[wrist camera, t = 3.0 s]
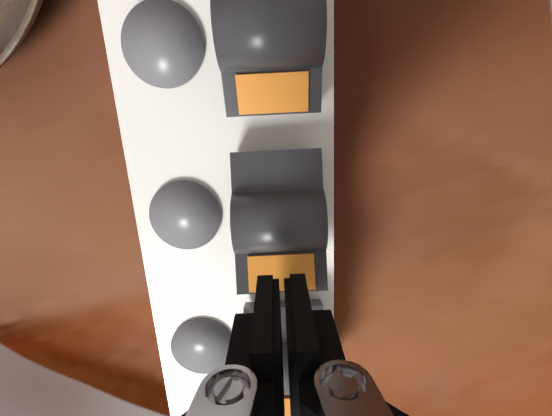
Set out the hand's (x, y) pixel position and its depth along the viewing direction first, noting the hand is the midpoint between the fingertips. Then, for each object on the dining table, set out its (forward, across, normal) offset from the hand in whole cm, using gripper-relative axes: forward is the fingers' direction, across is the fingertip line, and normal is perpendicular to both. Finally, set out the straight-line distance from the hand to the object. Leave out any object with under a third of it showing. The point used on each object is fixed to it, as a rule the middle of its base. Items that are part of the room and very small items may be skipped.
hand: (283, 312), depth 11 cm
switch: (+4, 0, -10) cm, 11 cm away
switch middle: (+4, 0, -2) cm, 4 cm away
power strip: (+8, +2, -6) cm, 11 cm away
